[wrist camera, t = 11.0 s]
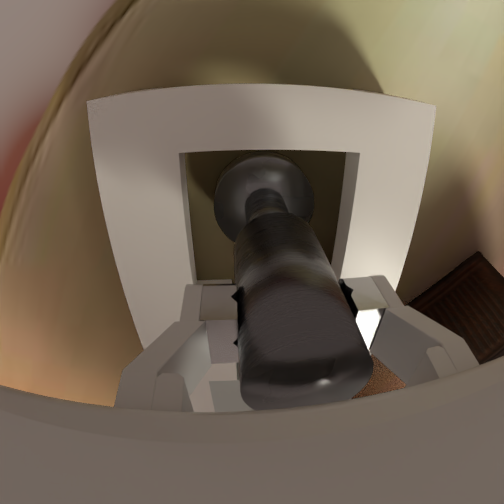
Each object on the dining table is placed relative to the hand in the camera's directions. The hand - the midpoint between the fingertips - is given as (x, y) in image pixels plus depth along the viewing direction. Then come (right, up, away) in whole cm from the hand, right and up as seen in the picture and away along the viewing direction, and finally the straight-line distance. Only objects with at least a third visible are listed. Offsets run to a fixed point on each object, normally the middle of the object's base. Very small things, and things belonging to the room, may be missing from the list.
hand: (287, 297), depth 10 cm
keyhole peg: (-1, +4, +7) cm, 8 cm away
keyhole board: (-1, +1, +10) cm, 10 cm away
